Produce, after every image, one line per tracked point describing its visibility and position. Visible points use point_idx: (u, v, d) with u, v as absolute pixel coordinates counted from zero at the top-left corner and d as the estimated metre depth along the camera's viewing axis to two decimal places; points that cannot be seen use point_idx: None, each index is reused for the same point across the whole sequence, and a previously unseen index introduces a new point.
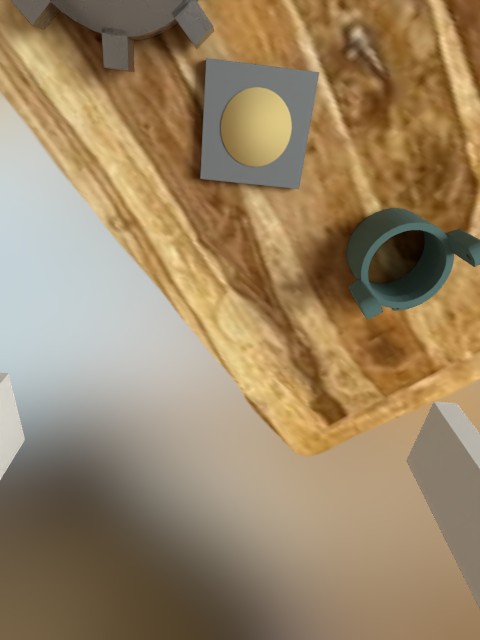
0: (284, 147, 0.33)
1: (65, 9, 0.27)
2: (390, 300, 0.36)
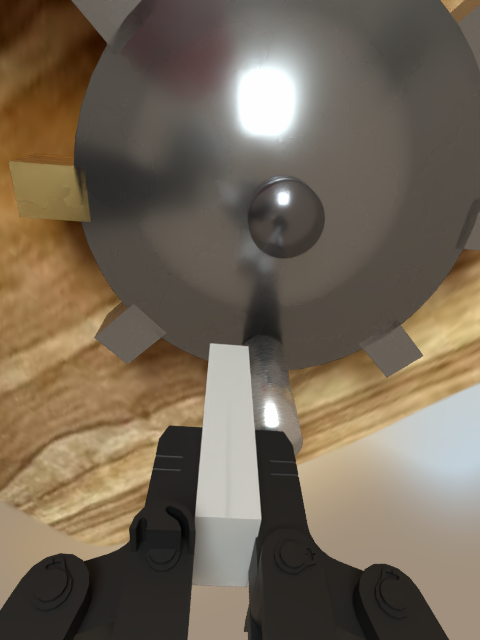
0: None
1: (415, 304, 0.15)
2: None
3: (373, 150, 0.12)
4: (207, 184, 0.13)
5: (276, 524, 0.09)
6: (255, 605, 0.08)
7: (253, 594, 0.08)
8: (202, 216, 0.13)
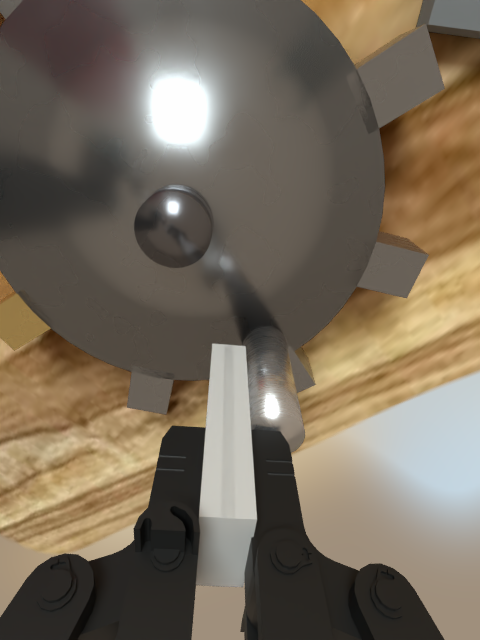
0: None
1: (374, 213, 0.13)
2: None
3: (212, 113, 0.12)
4: (109, 241, 0.13)
5: (272, 524, 0.08)
6: (251, 605, 0.08)
7: (249, 594, 0.08)
8: (125, 267, 0.14)
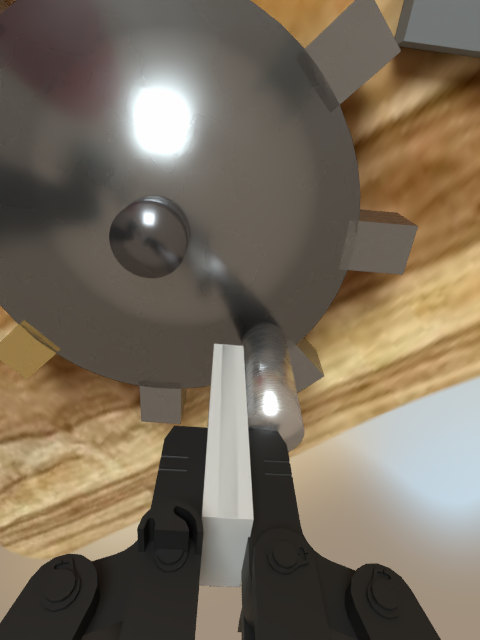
0: None
1: (352, 192, 0.13)
2: None
3: (169, 120, 0.12)
4: (94, 261, 0.14)
5: (269, 524, 0.08)
6: (248, 605, 0.08)
7: (246, 594, 0.08)
8: (114, 284, 0.14)
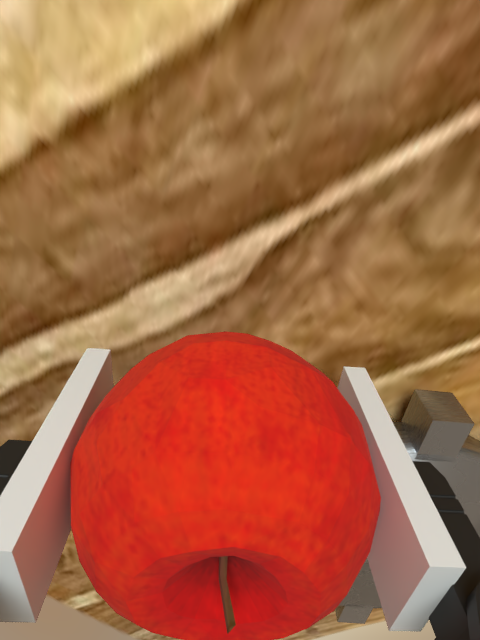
0: None
1: None
2: None
3: None
4: None
5: (467, 569, 0.08)
6: None
7: (450, 632, 0.08)
8: None
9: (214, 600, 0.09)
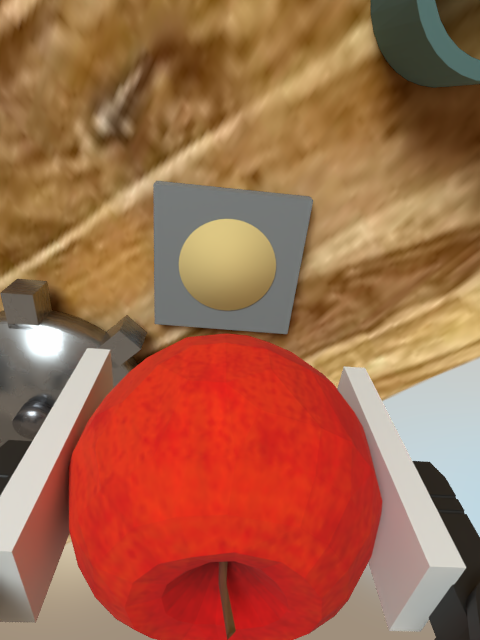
0: (251, 227, 0.22)
1: None
2: None
3: (39, 371, 0.25)
4: (10, 423, 0.27)
5: (467, 569, 0.08)
6: None
7: (450, 632, 0.08)
8: None
9: (214, 605, 0.08)
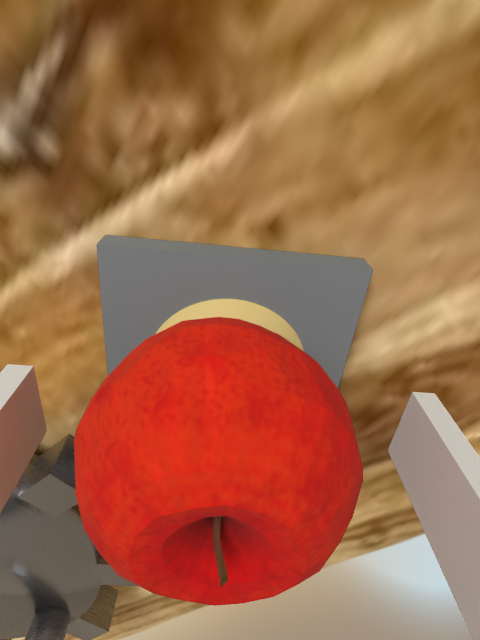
0: (266, 310, 0.13)
1: (84, 552, 0.17)
2: None
3: None
4: None
5: None
6: None
7: None
8: None
9: (209, 563, 0.09)
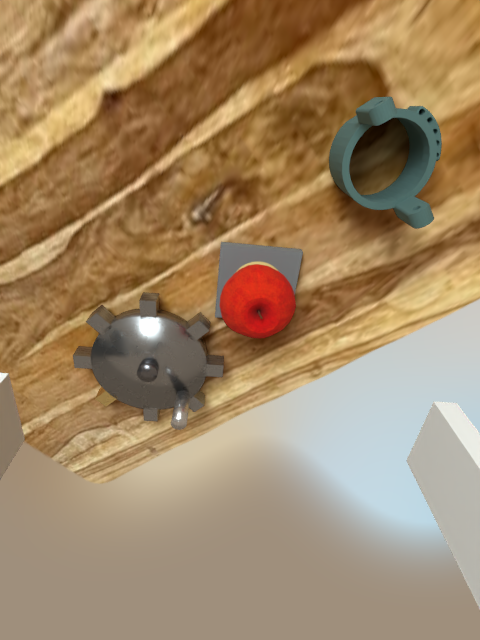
0: (270, 265, 0.42)
1: (203, 357, 0.46)
2: (424, 170, 0.34)
3: (152, 343, 0.45)
4: (130, 374, 0.47)
5: None
6: None
7: None
8: (136, 380, 0.47)
9: (257, 322, 0.38)
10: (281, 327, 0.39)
